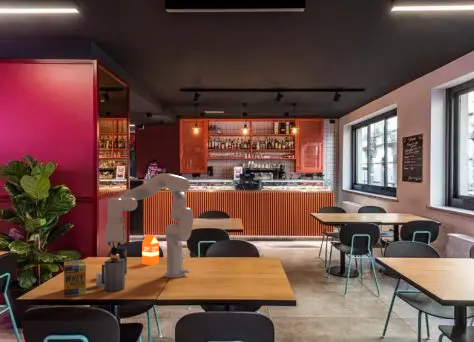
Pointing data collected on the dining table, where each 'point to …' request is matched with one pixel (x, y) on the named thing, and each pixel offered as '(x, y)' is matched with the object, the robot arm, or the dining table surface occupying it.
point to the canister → (122, 255)
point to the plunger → (114, 257)
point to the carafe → (114, 275)
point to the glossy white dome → (99, 279)
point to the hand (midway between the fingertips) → (114, 254)
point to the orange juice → (150, 250)
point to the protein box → (74, 278)
